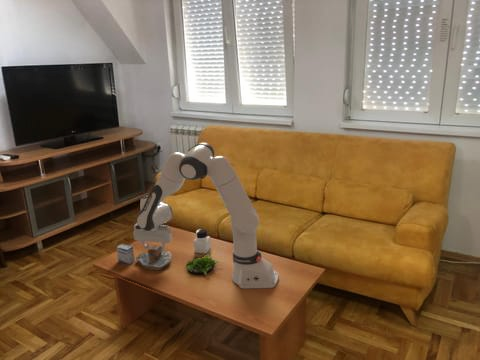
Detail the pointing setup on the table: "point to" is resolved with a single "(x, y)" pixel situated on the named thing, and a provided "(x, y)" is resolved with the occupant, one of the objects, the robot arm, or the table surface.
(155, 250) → the walnut block
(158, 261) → the brain slice
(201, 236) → the medicine bottle
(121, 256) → the medicine box
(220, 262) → the table surface
